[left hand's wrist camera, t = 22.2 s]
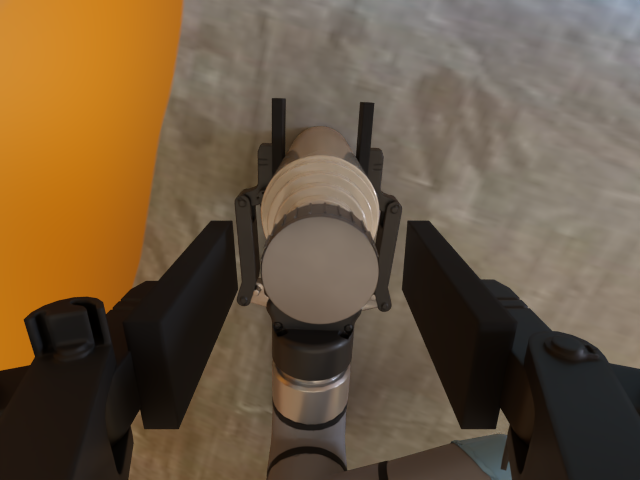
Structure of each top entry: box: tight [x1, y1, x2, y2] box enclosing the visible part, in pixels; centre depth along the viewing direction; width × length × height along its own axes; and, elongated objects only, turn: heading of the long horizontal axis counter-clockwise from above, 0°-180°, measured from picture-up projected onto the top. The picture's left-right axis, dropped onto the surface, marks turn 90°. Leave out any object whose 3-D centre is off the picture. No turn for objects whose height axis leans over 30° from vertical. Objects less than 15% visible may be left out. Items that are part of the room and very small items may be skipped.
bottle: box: [261, 126, 379, 240], centre depth 25 cm, size 6×6×25 cm
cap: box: [261, 202, 380, 324], centre depth 13 cm, size 4×4×2 cm
